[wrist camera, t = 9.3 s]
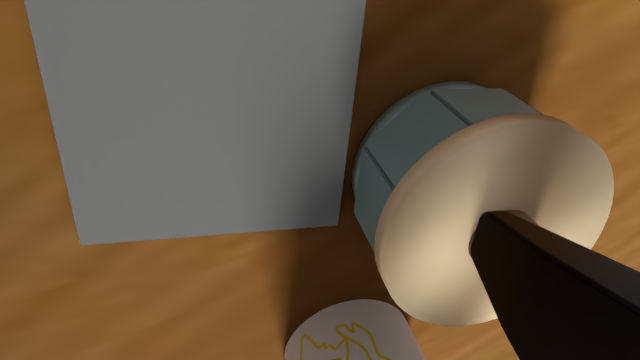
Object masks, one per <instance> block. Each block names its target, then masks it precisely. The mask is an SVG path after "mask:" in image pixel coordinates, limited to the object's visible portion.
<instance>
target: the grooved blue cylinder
mask: <svg viewBox="0 0 640 360" xmlns="http://www.w3.org/2000/svg"><path fill="white" fill-rule="evenodd" d="M518 113H533V114H542V113H540V112H539V111H537V110H536V109H534V108H533V107H531V106H529V105H528V104H526V103H525V102H523V101H522V100H520V99H519V98H517V97H516V96H514V95H512V94H511V93H509V92H508V91H506V90H504V89H502V88H487V87H485V86H482V85H480V84H476V83H472V82H467V81H447V82H441V83H436V84H432V85H429V86H426V87H423V88H420V89H418V90H416V91H414V92H411V93H409V94H408V95H406V96H404V97H403V98H401V99H400V100H398V101H397V102H395V103H394V104H393V105H391V106H390V107H389V108H388V109H387V110H386V111H385V112H383V113H382V114H381V115H380V116H379V117H378V118H377V120H376V121H375V122H374V123H373V124H372V126H371V127H370V128H369V130H368V131H367V133H366V134H365V136H364V137H363V139H362V141H361V143H360V145H359V147H358V150H357V153H356V156H355V158H354V163H353V167H352V177H351V182H352V191H353V195H354V199H355V206H354V213H355V216H356V218H357V220H358V222H359V224H360V226H361V228H362V230H363V232H364V234H365V236H366V238H367V240H368V242H369V244H370V246H371V248H372V250H373V252H374V242H375V233H376V229H377V225H378V220H379V218H380V215H381V213H382V210H383V208H384V206H385V204H386V202H387V200H388V198H389V196H390V194H391V193H392V191H393V190H394V188H395V187H396V185H397V184H398V183H399V181H400V180H401V178H402V177H403V176H404V175H405V174H406V173H407V172H408V170H409V169H410V168H411V167H412V166H413V165H414V164H415V163H416V162H417V161H418V160H419V159H420V158H421V157H422V156H423V155H425V154H426V153H427V152H428V151H429V150H431V149H432V148H433V147H435V146H436V145H437V144H439V143H440V142H441V141H443V140H445V139H446V138H448V137H450V136H451V135H453V134H455V133H456V132H458V131H460V130H462V129H464V128H467V127H469V126H471V125H473V124H476V123H478V122H481V121H484V120H487V119H490V118H494V117H498V116H503V115H508V114H518ZM542 115H543V114H542ZM374 254H375V252H374Z"/></svg>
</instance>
